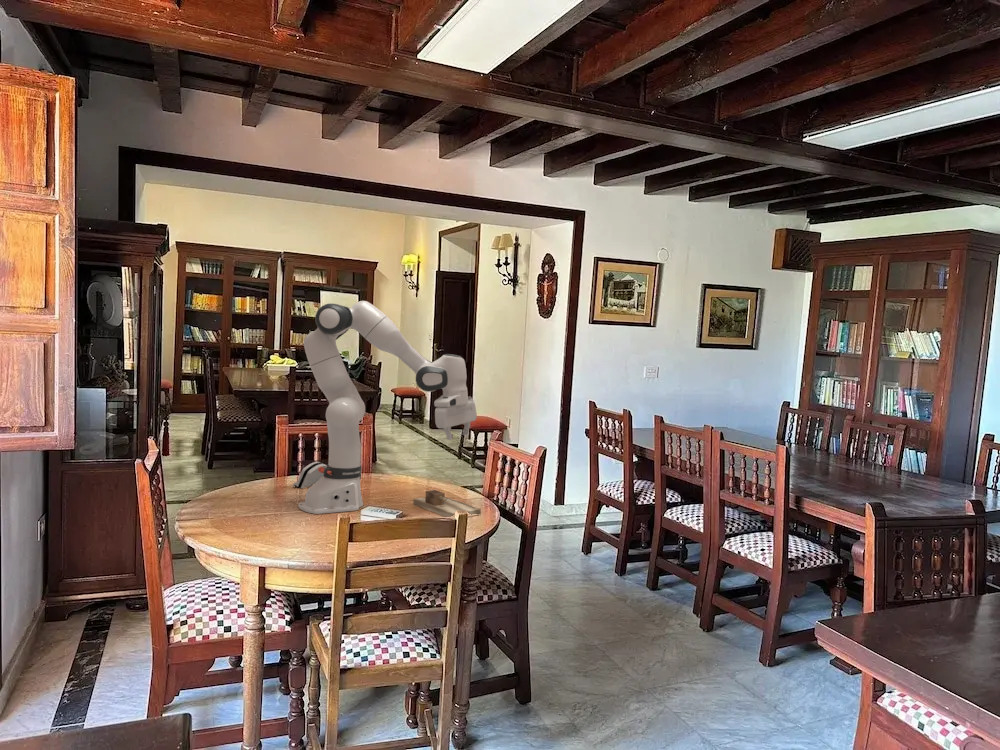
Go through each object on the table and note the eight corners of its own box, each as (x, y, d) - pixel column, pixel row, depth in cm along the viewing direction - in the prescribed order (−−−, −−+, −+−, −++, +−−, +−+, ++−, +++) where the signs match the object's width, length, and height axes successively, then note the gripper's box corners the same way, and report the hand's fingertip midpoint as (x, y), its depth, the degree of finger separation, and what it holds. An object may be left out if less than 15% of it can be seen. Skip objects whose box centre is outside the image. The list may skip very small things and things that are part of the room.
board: (453, 519, 229) (453, 513, 229) (413, 504, 247) (413, 498, 247) (480, 514, 237) (480, 509, 237) (439, 500, 255) (440, 494, 255)
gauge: (423, 501, 244) (424, 490, 244) (432, 500, 247) (433, 489, 246) (440, 507, 237) (440, 496, 236) (449, 506, 239) (449, 495, 239)
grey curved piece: (313, 479, 280) (321, 457, 279) (322, 484, 279) (331, 462, 278) (291, 487, 264) (300, 464, 262) (301, 492, 263) (310, 469, 261)
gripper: (465, 395, 253) (468, 432, 254) (430, 402, 236) (433, 441, 237) (479, 395, 250) (481, 432, 251) (445, 402, 233) (447, 442, 234)
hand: (458, 437), depth 244 cm, fingers open, 8 cm apart
